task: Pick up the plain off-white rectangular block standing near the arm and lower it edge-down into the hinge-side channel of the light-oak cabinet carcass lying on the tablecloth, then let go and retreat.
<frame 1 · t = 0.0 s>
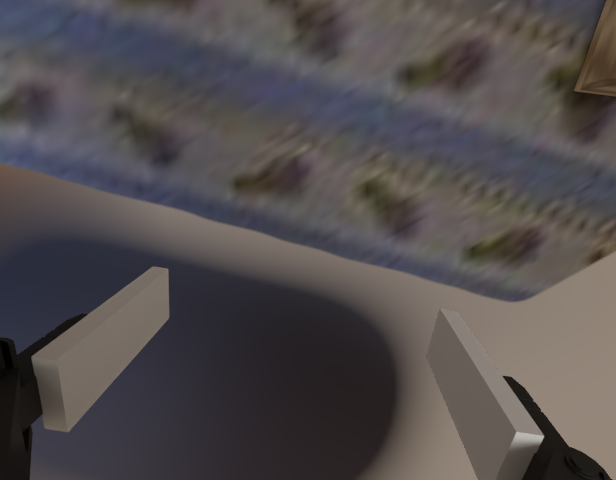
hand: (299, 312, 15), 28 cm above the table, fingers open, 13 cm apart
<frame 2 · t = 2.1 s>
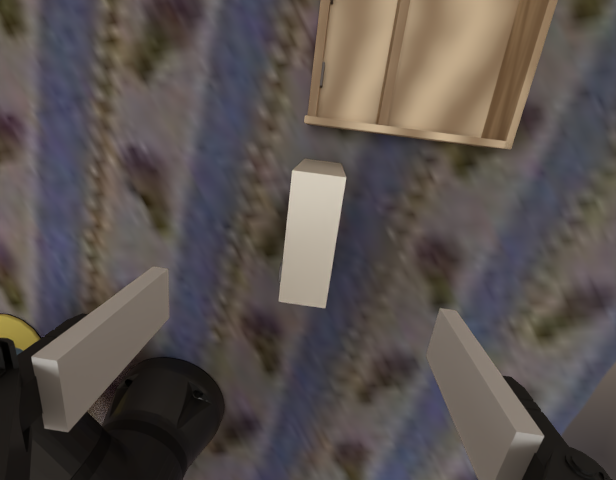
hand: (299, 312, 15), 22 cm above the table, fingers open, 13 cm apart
cabinet carcass: (410, 49, 31), on the table
candle: (12, 343, 46), on the table, touching arm
plain off-white rectangular block: (316, 209, 37), on the table
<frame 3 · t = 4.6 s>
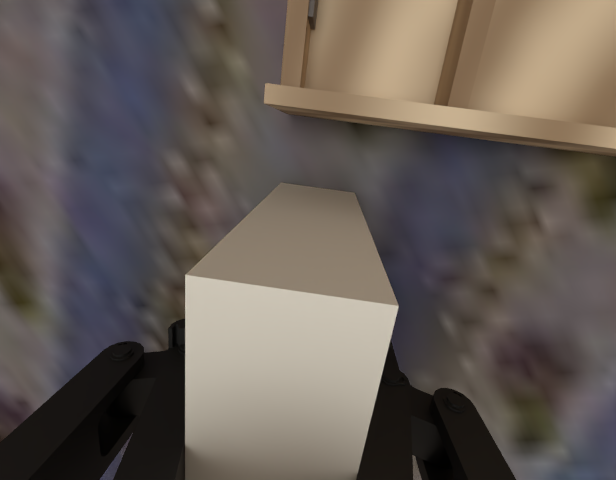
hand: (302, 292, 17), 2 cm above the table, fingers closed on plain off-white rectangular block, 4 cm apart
plain off-white rectangular block: (305, 279, 19), on the table, touching gripper
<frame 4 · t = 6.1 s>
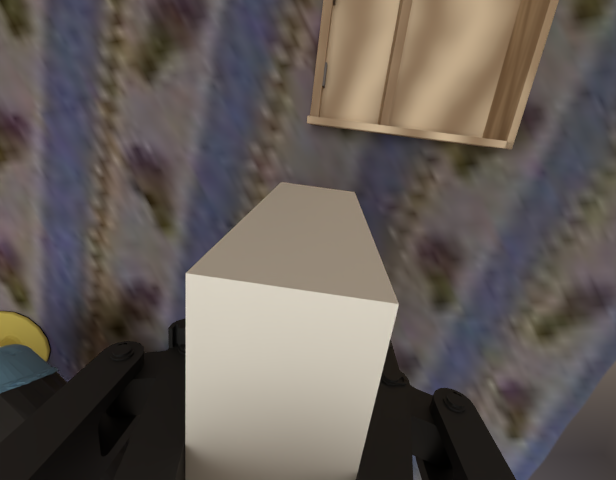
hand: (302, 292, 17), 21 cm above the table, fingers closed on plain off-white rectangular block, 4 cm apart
cabinet carcass: (412, 49, 31), on the table
candle: (17, 340, 46), on the table, touching arm
plain off-white rectangular block: (305, 278, 19), point 19 cm above the table, touching gripper
when the fingers open (5 cm above the table, at t = 9.3 s): plain off-white rectangular block drops 2 cm, resting on cabinet carcass.
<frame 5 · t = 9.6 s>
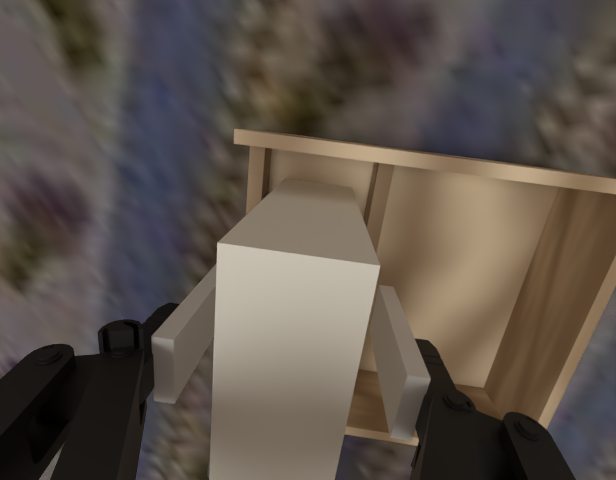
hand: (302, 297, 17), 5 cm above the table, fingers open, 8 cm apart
cabinet carcass: (384, 271, 22), on the table
plain off-white rectangular block: (306, 266, 21), point 1 cm above the table, touching cabinet carcass
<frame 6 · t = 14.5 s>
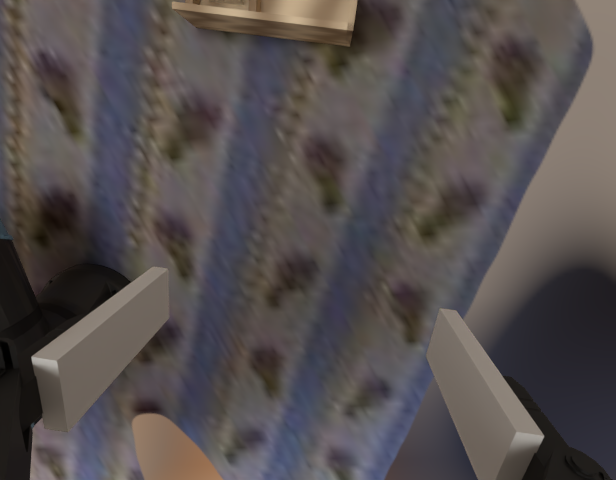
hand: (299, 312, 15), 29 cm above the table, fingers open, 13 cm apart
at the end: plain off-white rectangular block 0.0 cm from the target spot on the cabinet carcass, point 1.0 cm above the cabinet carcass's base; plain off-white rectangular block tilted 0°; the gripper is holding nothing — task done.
